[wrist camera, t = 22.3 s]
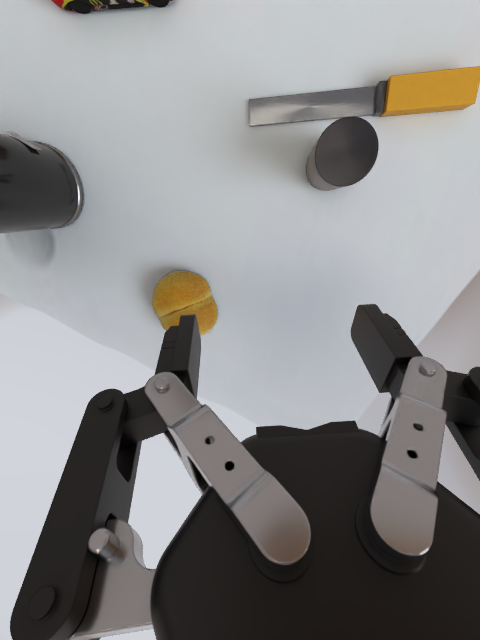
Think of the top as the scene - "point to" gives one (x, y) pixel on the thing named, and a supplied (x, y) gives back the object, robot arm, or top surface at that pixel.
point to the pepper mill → (342, 154)
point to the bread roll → (184, 300)
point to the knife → (374, 98)
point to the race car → (105, 4)
